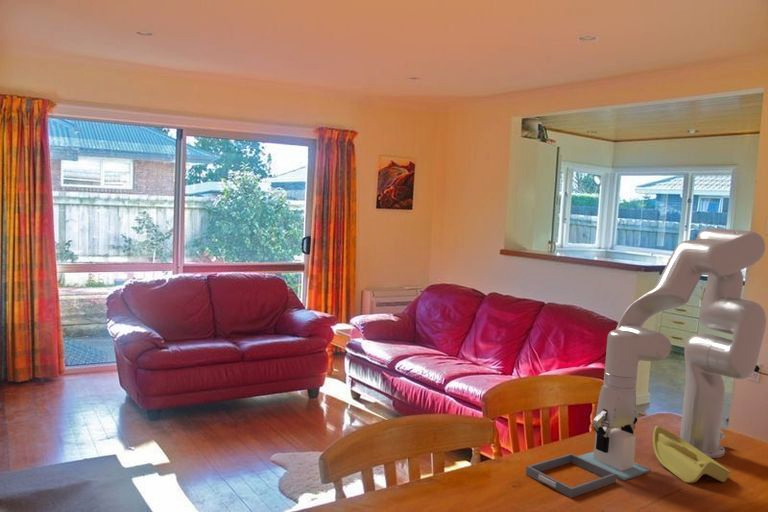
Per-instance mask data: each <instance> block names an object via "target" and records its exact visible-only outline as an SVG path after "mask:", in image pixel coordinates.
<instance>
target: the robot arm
mask: <svg viewBox="0 0 768 512" xmlns="http://www.w3.org/2000/svg"><path fill="white" fill-rule="evenodd" d="M765 250H766V243H765V240H764V238H763V237H762V235H761V234H759V233H758V232H756V231H751V230H741V229H740V230H739V229H729V228H717V227H716V228H714V227H713V228H706V229H702V230H701V231H699V232H698V234H697V235H696V238H695V239H694V240H693V239H692V240H690V239H689V240H683V241H681V242H679V243H678V244H677V245H676V246H675V248H674V249H673V250H672V254H671V255H670V258H669V259H668V261H667V263H666V265H665V267H664V268H663V271H662V273H661V274H660V276H659V278H658V280H657V282H656V284H655V286H654V287H653V288H652V289H651V290H649V291H648V292H645V294H643V295H641V296H640V297H639V298H637V299H635V301H633V302H632V303H631V304H630V305H629V306H628V307H627V308H626V309H625V311H624V312H623V314H622V315H621V317H620V319H619V322H618V323H617V325H616V328H615V329H613V330H611V331H609V333H608V334H607V338H606V339H607V340H606V350H605V351H606V354H605V361H604V362H605V363H604V374H603V375H604V376H603V385H602V386H601V388H600V391H599V397H598V400H597V407H596V415H595V417H594V418H593V420H592V424H593V429H594V431H595V434H597V440H596V449H597V450H600V451H602V452H604V453H608V449H609V437H608V435H609V433H610V431H611V429H614V428H617V429H619V428H620V430H623V431H625V432H628V433H631V434H633V435H634V430H635V429H636V423H637V422H638V417H639V414H640V409H638V408H637V380H638V379H637V378H638V370H639V368H638V367H639V362H641V361H643V362H650V363H651V362H652V363H654V362H655V363H657V362H661V361H663V360H665V359H666V358H668V357H669V356H670V354H671V351H672V343H671V340H670V339H669V337H667V336H666V335H665V334H664V333H662V332H660V331H657V330H652V329H648V328H646V327H642V326H643V325H644V324H645V323H646V321H648V319H650V318H651V317H653V316H654V315H656V314H659V313H661V312H664V311H667V310H672V309H675V308H676V309H677V308H679V307H683V306H685V305H686V304H687V303H689V301H690V299H691V297H692V295H693V293H694V291H695V289H696V287H697V284H698V283H699V281H700V280H701V277H702V276H703V275H704V276H707V281H706V285H705V290H704V294H703V297H702V302H701V306H700V311H699V321H700V323H701V325H702V326H704V327H705V328H707V329H710V330H713V331H716V332H720V333H723V334H729V335H732V339H730V338H726V337H723V336H719V335H714V334H711V333H710V334H709V333H696V334H693V335H691V336H690V337H689V338H688V339H687V340H686V342H685V345H684V363H685V382H684V383H685V384H684V393H683V403H682V411H681V412H682V413H681V423H680V433H679V436H678V437H679V438H681V439H683V440H684V441H686V442H687V443H689V444H690V445H692V446H693V447H695V448H696V449H698V450H699V451H701V452H702V453H704V454H705V455H707V456H708V457H710V458H711V459H717V458H719V459H720V458H722V457H724V456H725V454H726V450H725V448H724V447H723V446H722V445H720V440H722V439H724V438H725V437H726V433H725V432H724V431H722V430H721V428H722V420H723V418H722V417H723V409H724V400H725V393H726V392H725V390H726V389H725V383H724V380H723V377H722V376H725V377H728V378H731V379H735V380H745V379H746V380H747V378H750V376H751V375H753V373H754V372H755V370H756V369H755V368H756V366H757V363H758V360H759V356H760V351H761V347H762V344H763V340H764V335H765V332H766V331H765V330H766V327H767V315H766V311H765V310H764V308H763V306H761V304H759V303H757V302H755V301H753V300H748V299H744V298H742V297H741V296H742V291H743V287H744V275H743V272H742V270H743V269H746V268H749V267H752V266H753V265H755V264H756V263H758V262H759V261H760V260H761V259H762V258H763V256H764V254H765V252H766V251H765ZM603 427H607V428H606V430H605V431H604V429H603Z"/></svg>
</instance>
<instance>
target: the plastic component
mask: <svg viewBox="0 0 768 512" xmlns="http://www.w3.org/2000/svg"><path fill="white" fill-rule="evenodd" d="M679 437H680V436H678V435H676V434H674V433H672V432H671V431H669V430H667V429H666V428H663V427H661V426H659V425H655V427H654V429H653V433H652V447H653V451H654V454H655V456H656V458H657V460H658V461H659V463H660V464H661V465H662V466H663V467H664V468H666V469H667V470H668V471H670V472H671V473H672V474H674V475H675V476H676V477H677V478H679V479H680V480H681V481H682V482H685V483H688V484H693V483H695V482H698V480H699V479H700V478H701V477H702V476H703V475H707V476H709V477H711V478H713V479H715V480H717V481H719V482H721V483H724V482H726V481H727V479H728V478H729V476H730V474H731V470H730V469H728V468H726V467H725V466H723V465H722V464H720V463H719V462H718V461H716V460H714V458H710V457H708V456H707V455H705V454H704V453H702V452H701V451H699V450H698V449H696V448H695V447H693V446H692V445H690V444H689V443H687V442H686V441H684V440H683V439H681V438H679Z"/></svg>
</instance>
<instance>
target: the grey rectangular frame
mask: <svg viewBox="0 0 768 512" xmlns="http://www.w3.org/2000/svg"><path fill="white" fill-rule="evenodd" d="M578 456H579V455H576V454H574V453H569V454H565V455H561V456H558V457H554V458H551V459H548V460H544V461H540V462H537V463H533V464H531V465H530V464H529V465H527V466H526V467H525V475H526V476H528V477H530V478H532V479H534V480H535V481H538V482H540V483H541V484H544V485H545V486H547V487H549V488H550V489H552V490H555V491H557V492H559V493H561V494H563V495H564V496H566V497H568V498H570V499H572V498H575V497H577V496H580V495H584V494H586V493H590V492H592V491H596V490H597V489H600V488H603V487H607V486H609V485H612V484H614V483H617V477H616V476H617V474H616V473H613V472H611V471H609V470H607V469H604V468H602V467H600V466H598V465H596V464H593V463H591V462H589V461H587V460H584V459H582V458H580V457H578ZM570 463H571V464H574V466H577V467H580V468H582V469H583V470H586V471H588V472H590V473H592V474H595V475H597V476H599V478H595V479H592V480H590V481H587V482H584V483H580V484H578V485H575V486H572V487H571V486H569V485H567V484H566V483H563V482H561V481H560V480H557V479H555V478H553V477H551V476H549V475H547V474H545V473H543V472H544V471H547V470H551V469H554V468H557V467H560V466H564V465H567V464H570Z"/></svg>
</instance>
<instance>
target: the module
mask: <svg viewBox="0 0 768 512" xmlns="http://www.w3.org/2000/svg"><path fill="white" fill-rule="evenodd" d="M606 428H607V427H603V429H604V431H605V430H606ZM608 437H609V449H608V453H604V452H602V451H600V450H597V449H596V440H597V434H596V433H595V436H594V447H593V448H594V449H593V452H594V457H593V459H595V460H597V461H600V462H602V463H604V464H606V465H609V466H611V467H613V468H616V469H618V470H620V471H622V470H625V469H628V468H631V467H633V464H634V462H635V453H636V452H635V451H636V443H637V442H636V441H637V440H636V439H637V435H636V434H634V433H633V434H631V433H628V432H625V431H623V430H621V428H614V429H611V431H610V433H609V435H608Z"/></svg>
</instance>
